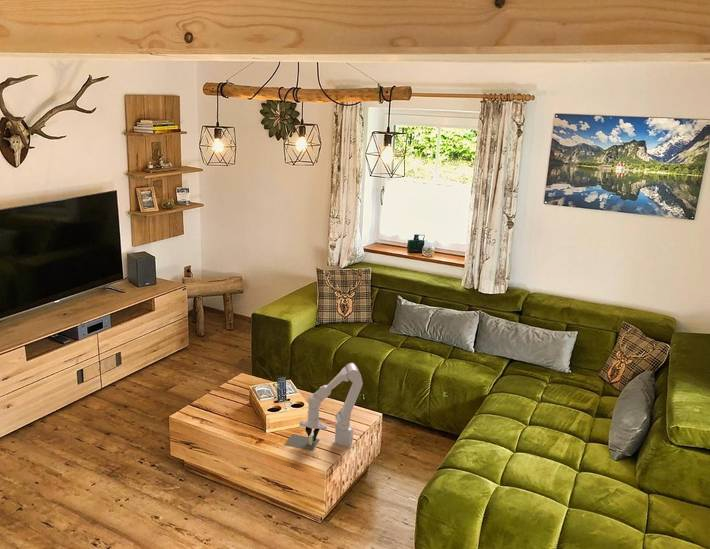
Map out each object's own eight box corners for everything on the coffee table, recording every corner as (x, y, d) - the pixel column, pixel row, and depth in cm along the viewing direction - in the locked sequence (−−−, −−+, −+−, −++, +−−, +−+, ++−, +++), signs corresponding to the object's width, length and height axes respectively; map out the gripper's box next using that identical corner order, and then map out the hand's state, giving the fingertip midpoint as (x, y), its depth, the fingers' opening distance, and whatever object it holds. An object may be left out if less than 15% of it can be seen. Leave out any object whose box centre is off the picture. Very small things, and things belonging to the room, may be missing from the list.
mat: (320, 440, 334) (320, 439, 334) (312, 451, 323) (312, 450, 323) (292, 434, 338) (292, 433, 338) (283, 445, 327) (283, 444, 327)
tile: (316, 439, 334) (316, 431, 332) (312, 445, 328) (312, 436, 327) (312, 438, 334) (312, 430, 333) (308, 444, 329) (309, 436, 327)
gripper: (328, 415, 329) (327, 438, 333) (303, 410, 332) (302, 433, 336) (324, 422, 322) (323, 445, 326) (298, 416, 326) (297, 439, 330)
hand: (312, 439), depth 331 cm, fingers closed on tile, 2 cm apart
